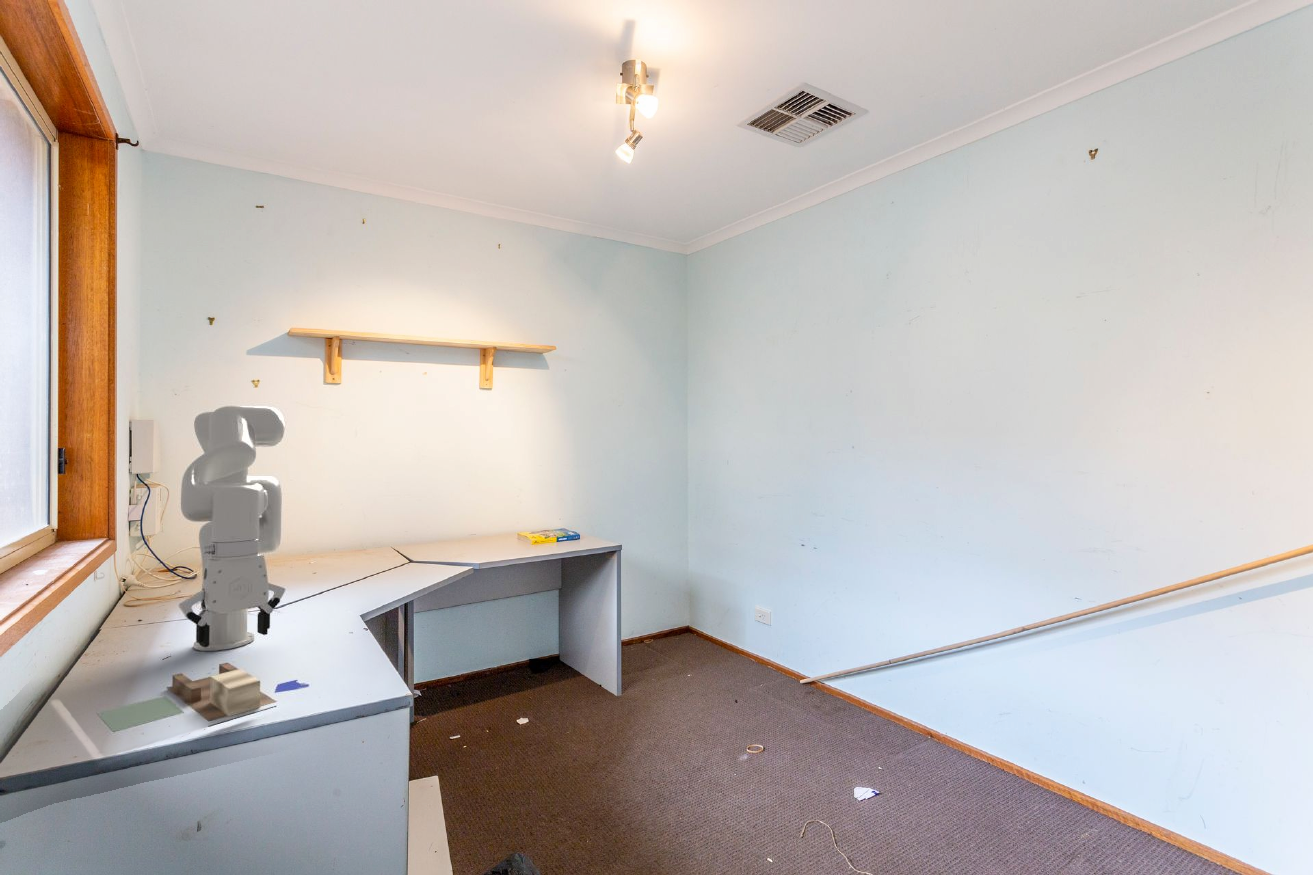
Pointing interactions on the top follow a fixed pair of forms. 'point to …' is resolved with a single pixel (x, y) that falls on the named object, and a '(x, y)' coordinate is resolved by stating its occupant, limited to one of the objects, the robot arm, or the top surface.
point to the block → (234, 692)
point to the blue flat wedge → (290, 686)
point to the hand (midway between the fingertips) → (234, 639)
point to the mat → (139, 713)
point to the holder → (205, 694)
